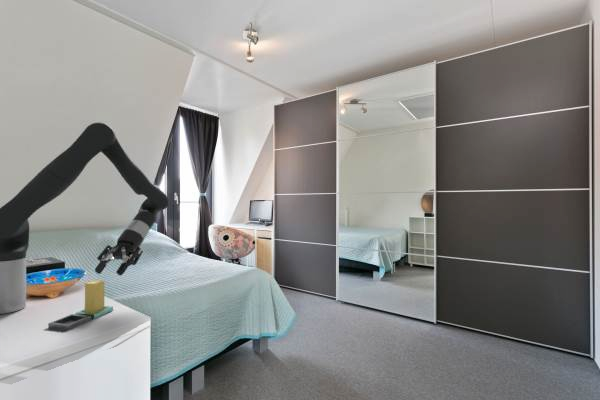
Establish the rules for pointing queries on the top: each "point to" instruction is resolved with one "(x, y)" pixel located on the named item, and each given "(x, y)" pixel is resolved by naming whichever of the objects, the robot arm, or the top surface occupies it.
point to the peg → (94, 296)
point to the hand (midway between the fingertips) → (107, 273)
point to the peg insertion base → (75, 320)
